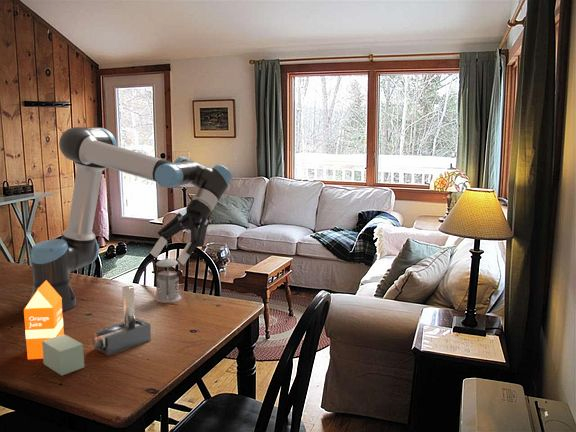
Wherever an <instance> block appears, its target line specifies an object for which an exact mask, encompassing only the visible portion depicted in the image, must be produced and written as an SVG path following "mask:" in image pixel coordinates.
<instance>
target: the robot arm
mask: <svg viewBox="0 0 576 432" xmlns="http://www.w3.org/2000/svg"><path fill="white" fill-rule="evenodd" d="M116 140H117V139H116V138H115V136H114V135H113V133H112V132H110V131H109V130H108V129H106V128H104V127H98V126H92V127H91V126H88V127H86V126H83V127H82V126H81V127H80V126H74V127H71V128H68V129H66V130H65V131H64V132H63V133H62V134H61V136H60V138H59V139H58V141H59V143H58V146H59V150H60V152H61V153H62V155H63V156H64V157H65V158H66V159H67V160H70V161H72V162H73V163H74V165H76V174H75V177H74V178H75V179H74V185H73V193H72V198H71V205H70V212H69V217H68V224H67V228H65V230H63V231H62V234H61V238H52V239H48V240H42V241H40V242H38V243H36V244H35V245H33V246H32V247H31V254H30V261H31V268H32V269H31V270H32V281H33V288H32V293H31V296H30V299H31V298H32V297H33V296H34V294H35V293H36V291H37V289H38V288H39V287H40V286H41V285H42V284H43V283H44V282H45V281H46V280H47V282H48V283H49V284H50V285H51V286H52V287H53V289H54V290H55V291H56V292H57V293H58V294H59V295H60V297H61V298H62V312H65V311H68V310H70V309H71V310H72V309H73V308H75V307H76V305H77V298H76V297H77V296H76V295H75V293H74V291H73V288H72V286H71V281H70V273H71V272H73V271H76V270H79V269H82V268H85V267H87V266H89V265H90V264H92V263H94V262H95V261H96V260H97V258H98V256H99V253H100V245H99V244H98V241H97V239H96V234H95V232H94V231H93V227H94V222H95V216H96V209H97V205H98V197H99V192H100V186H101V181H102V174H103V171H105V170H106V169H112V170H114V171H118V172H122V173H125V174H128V175H131V176H135V177H139V178H142V179H144V180H148V181H152V182H154V183H155V182H156V183H157V184H158V185H159V187H163V188H166V189H167V188H169V189H173V188H176V187H180V186H184V185H188V184H190V185H193V186H194V187H197V188H198V190H197V191H196V193H195V194H194V196H192V200H191V201H190V202H189V203H188V205H186V209H185V210H186V211H185V214H184V215H183V214H182V213H180V212H178V213H177V214H176V215H175V217H174V218H172V220H170V221H169V222H168V223H167V224H166V225H164V226H163V227H162V228H161V229H160V230H158V232H157V234H158V235H159V238H158V239H157V241H156V242H155V244H154V246H153V247H152V249H151V250H150V251H149V253H150V254H151V255H152V256H153V257H154V258H158V256H159V255H160V253H161V252H162V250H163V248H164V247H165V246H166V243H167V244H168V240H169V239H170V238H172V237H173V236H175V235H176V234H179V233H180V232H181V231H185V230H186V231H187V230H188V231H190V240H189V241H188V242H187V244H186V245H185V247H184V248H183V250H182V251H181V253H180V254H179V256H178V258H177V260H176V261H177V262H178V263H180V264H181V265H182V266H183V265H185V264H186V262H187V261H188V259H189V257H190V256H191V255H192V254H193V252H194V251H195V250H196V248H198V247H203V246H204V244H205V239H206V235H207V230H208V226H209V225H210V221H209V220H208V218H209V216H210V215H211V212H212V211H213V210H214V208H215V207H216V205H217V204H218V202H219V200H220V199H221V198H222V196H223V195H224V193H225V192H226V190H227V189H228V187H229V185H230V183H231V182H232V180H233V174H232V172H231V170H230V169H229V168H227V167H226V166H225V165H222V164H215V165H214V166H213V167H212V168H211V167H207V166H205V165H203V164H201V163H199V162H197V161H194V160H192V158H188V157H185V156H179V157H177V158H176V159H175V161H174V162H172V161H169V160H167V159H165V160H164V159H163V158H158V157H155V156H152V155H148V154H145V153H141V152H137V151H135V150H131V149H127V148H123V147H120V146H118V144H117V141H116ZM166 235H167V236H166Z"/></svg>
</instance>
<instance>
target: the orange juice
mask: <svg viewBox="0 0 576 432" xmlns="http://www.w3.org/2000/svg"><path fill="white" fill-rule="evenodd" d="M23 316H24V317H23V318H24V328H25V331H24V332H25V334H24V335H25V342H26V352H27V353H26V355H27V356H26V357H27V360H39V359H42V360H43V349H42V341H44V340H47V339H50V338H54V337H57V336H60V335H63V334H65V332H64V330H65V329H64V317H63V316H64V315H63V311H62V298H61V297H60V295H59V294H58V293H57V292H56V291H55V290H54V289H53V287H52V286H51V285H50V284H49V283H48V282H47V280H46V281H45V282H44V283H43V284H42V285H41V286H40V287H39V288H38V289H37V291H36V293H35V294H34V296H33V297H32V298H31V297H30V300H29V302H27V305H26V306H25V307H24V308H23Z"/></svg>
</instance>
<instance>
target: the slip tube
mask: <svg viewBox="0 0 576 432" xmlns="http://www.w3.org/2000/svg"><path fill="white" fill-rule="evenodd" d="M122 305H123V310H122V311H123V322H124V328H122V329H119V330H116V331H113V332H110V333H107V334H104V335H101V336H98V337H95V338H94V337H93V339H92V345H93V348H94V349H95V350H96V351H99V350H100V349H102V348H105V337H106V336H109V335H112V334H115V333H118V332H121V331H124V330H127V329H130V328H133V327H136V326H139V325H140V324H135V318H136V308H135V307H136V306H135V286H133V285H125V286H122Z"/></svg>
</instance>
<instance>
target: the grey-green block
mask: <svg viewBox="0 0 576 432" xmlns="http://www.w3.org/2000/svg"><path fill="white" fill-rule="evenodd" d="M42 349H43V359H42V360H43V362H42V363H43V365H45V366H46V367H48V368H49V369H51V370H52V371H53V372H55V373H57V374H58V375H60V376H64V375H68V374H70V373H72V372H75V371H78V370H81V369H83V368H85V355H84V353H85V352H84V344H83V343H82V342H80V341H78V340H76V339H74V338H73V337H71V336H69V335H67V334H65V333H64V334H63V335H60V336H57V337H54V338H50V339H47V340H44V341H42Z"/></svg>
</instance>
